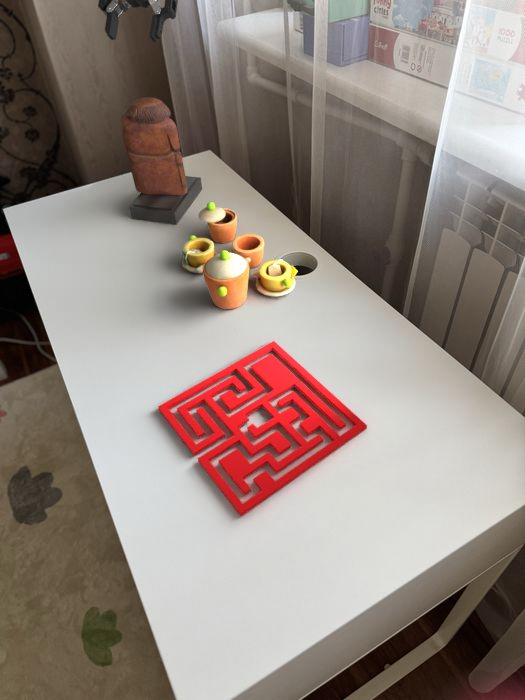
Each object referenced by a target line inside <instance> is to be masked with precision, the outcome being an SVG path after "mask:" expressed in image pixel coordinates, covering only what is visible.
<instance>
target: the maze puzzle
mask: <svg viewBox="0 0 525 700" xmlns="http://www.w3.org/2000/svg"><path fill="white" fill-rule="evenodd" d="M271 352H274V353H275V354H276V355H277V356H278V357H280V358H281V359H282V360H283V361H284V362H285V363H286V364H287V365H288V366H289V367H290V368H291V369H292V370H293V371H294V372H296V373H297V374H298V375H299V376H300V377H301V378H302V379H303V380H304V381H305V382H306V383H307V384H309V386H311V387H312V388H313V389H314V390H315V391H316V392H317V393H318V394H319V395H320V396H321V397H323V399H325V400H326V401H327V402H328V403H329V404H330V405H331V406H332V407H333V408H335V410H336V411H338V413H340V414H341V415H342V416H343V417H344V418H345V419H346V420H347V421H349V423H351V424H352V425H353V426H352V427H350V428H349V429H348V430H347V431H345V432H344V433H342V434H341V435H340V434H339V433H338V432H337V431H335V429H334V428H333V427H331V425H330V424H329V423H327V421H325V420H324V419H323V418H322V417H321V416H320V415H319V414H318V412H316V411H315V410H314V409H313V408H312V407H311V406H310V405H309V404H308V403H307V402H305V400H303V399H302V398H301V397H300V395H298V393H297V392H295V390H293V391H291V392H290V393H287V392H288V391H290V390H291V389H293V388H296V390H298V392H299V393H300V394H302V396H304V397H305V398H306V400H307V401H309V402H310V403H311V404H312V405H313V406H314V407H315V408H316V409H317V410H318V411H319V412H320V413H322V414H323V415H324V416H325V417H326V418H327V419H328V420H329V421H330V422H331V423H332V424H333V425H334V426H335V427H336V428H337V429H338V430H339V431H342V430H344V428H346V426H347V423H346V422H345V421H344V420H343V419H342V418H341V417H340V416H339V415H338V414H337V413H335V412H334V410H333V409H332V408H330V407H329V406H328V405H327V404H326V402H324V401H322V399H321V398H320V397H318V396H317V394H315V392H313V391H312V390H311V389H310V388H309V387H308V386H307V385H306V384H305V383H304V382H303V381H302V380H300V378H298V377H297V376H296V375H295V374H294V372H292V371H291V370H290V369H289V368H288V367H286V366H285V364H283V363H282V362H281V361H280V360H279V359H278V358H277V357H276V356H275V355H274V354H272V353H271ZM269 353H270V354H269ZM267 354H268V355H267ZM265 355H266V356H265ZM263 356H265V357H263ZM261 357H263V358H261ZM260 358H261V359H260ZM255 361H256V362H255ZM253 362H254V363H253ZM248 365H250V370H251V371H252V372H253V373H255V375H256V376H258V378H259V379H260V380H261V381H262V382H263V383H264V384H265V385H266V386H267V387H268V388H269V389H270V390H271V391H269V392H268V393H266V394H264V393H265V392H266V388H265V387H264V386H263V385H262V384H261V383H260V382H259V381H258V380H257V379H256V378H255V377H254V376H253V374H251V373H250V372H249V371H248V370H247V369H246V368H245V367H246V366H248ZM235 372H236V373H237V374H238V375H239V376H240V377H241V378H242V379H243V380H244V381H245V382H246V383H247V384H248V385H249V386H250V387H251V390H249V391H247V388H246V385H244V384H243V383H242V381H241V380H240V379H239V378H238V377H237V376H236V375H234V373H235ZM232 374H233V375H232ZM231 375H232V376H231ZM229 376H230V377H229ZM227 377H228V378H227ZM225 378H227V379H225ZM224 379H225V380H224ZM222 380H223V381H222ZM220 381H222V382H220ZM218 382H220V383H218ZM216 383H218V384H216ZM215 384H216V385H215ZM214 385H215V386H214ZM211 386H212V387H211ZM232 386H233V387H234V388H235V390H237V391H238V393H240V394H242V393H243V392H245V391H247V392H246V393H244V394H242V395H241V396H239V397H238V395H237V394H236V393H235V392H234V391H233V390H232V389H229V388H231V387H232ZM209 387H211V388H209ZM207 388H209V389H207ZM206 389H207V390H206ZM227 389H229V390H227ZM205 390H206V391H205ZM226 390H227V391H226ZM202 391H204V392H202ZM224 391H225V392H224ZM201 392H202V393H201ZM222 392H224V393H222ZM199 393H201V394H199ZM220 393H222V394H221V395H219V400H220V402H222V404H223V405H224V406H225V407H226V408H227V409H228V410H229V411H230V412H231V413H232V412H234V411H236V410H237V409H239V408H240V407H242V406H244V405H246V404H247V403H249V402H250V401H252V400H254V399H255V398H257V397H259V398H258V399H256V400H254V401H253V402H251V403H249V404H248V405H246V406H244V407H243V408H242V409H240V410H238V411H237V412H235V413H233V414H231V415H230V416H229V415H228V414H227V413H226V412H225V410H223V408H222V407H221V406H220V405H219V404H218V403H217V402H216V400H215V399H213V398H214V397H215V396H217V395H218V394H220ZM285 393H287V394H286V395H285V396H283V397H281V396H282V395H284V394H285ZM262 394H264V395H262ZM196 395H197V396H196ZM261 395H262V396H261ZM194 396H195V397H194ZM260 396H261V397H260ZM279 397H281V398H279ZM191 398H192V399H191ZM277 398H279V399H278V400H277V401H276V404H277V406H278V407H279V408H280V409H283V408H285V407H286V406H288V405H290V404H292V403H293V404H294V405H295V406H296V407H297V408H298V409H299V410H300V411H301V412H302V413H303V414H304V415H305V416H306V417H307V418H305V419H304V420H302V421H300V422H299V423H298V427H299V428H300V429H301V430H302V431H303V432H304V433H305V434H306V435H307V436H311V435H313V433H315V432H317V431H318V430H321V431H322V433H324V434H325V436H326V437H328V438H329V440H331V441H330V442H329V443H328V444H326V445H325V446H323V447H322V448H321V449H319V450H317V451H316V452H315V453H313V454H312V455H310V456H309V457H307V458H306V459H305V460H303V461H302V462H300V463H299V464H297V465H296V466H294V467H293V468H292V469H290V470H288V471H287V472H286V473H285V474H283V475H281V476H279V478H277V479H276V480H275V479H274V478H273V477H272V476H271V474H270V473H269V472H268V471H267V470H264V471H262V472H260V473H259V474H258V475H256V476H255V477H253V478H252V481H253V483H254V484H255V486H256V487H257V488H258V489H259V491H258V492H256V493H255V494H254V495H253V496H251V497H250V498H248V499H247V500H245V501H244V502H242V500H240V498H239V497H238V496H237V494H236V493H235V492H234V490H233V489H232V488H231V487H230V485H229V484H228V483H227V481H226V480H225V479H224V477H223V476H222V475H221V474H220V472H219V471H218V470H217V469H216V467H215V466H214V465H213V464H212V462H211V461H213V460H215V459H217V458H218V457H219V456H221V455H222V454H223V453H225V452H227V451H229V450H230V449H232V448H234V447H235V446H236V445H239V444H240V445H241V446H242V447H243V449H244V450H245V451H246V452H247V453H248V454H249V455H250V457H252V458H254V457H255V456H257V455H258V454H260V453H261V452H264V450H266V449H267V448H269V447H271V448H272V449H273V450H274V451H275V453H276V454H278V456H281V455H282V454H284V453H286V452H287V451H289V450H290V449H291V448H292V444H291V442H289V441H288V440H287V438H286V437H285V436H284V435H283V434H282V433H281V432H280V431H279V430H275V431H274V432H272V433H271V434H269V435H268V436H266V437H264V438H263V439H262V440H260V441H258V442H257V443H255V444H254V443H252V442H251V440H250V439H249V438H248V437H247V436H246V435H245V434H244V432H243V431H242V430H241V429H240V428H241V427H243V426H244V424H245V423H247V422H250V419H249V417H248V416H250V415H252V414H253V413H254V412H256V411H258V410H259V409H261V408H262V409H263V410H264V411H265V413H267V414H268V415H269V416H270V417H271V418H270V419H269V420H267V421H266V422H264V423H263V424H261V425H260V426H258V427H257V426H256V425H255V424H254V423H251V424H249V425H248V426H247V427H246V430H247V432H248V433H249V434H250V435H251V436H252V437H253V438H254V440H257V439H259V438H260V437H262V436H264V435H265V434H267V433H269V432H270V431H271V430H273V429H275V428H277V427H278V426H280V427H281V429H282V430H283V431H284V432H285V433H286V434H287V435H288V436H289V437H290V438H291V439H292V440H293V441H294V442H295V443H296V444H297V446H298V447H297V448H296V449H294V450H293V451H292V452H290V453H289V454H287V455H286V456H284V457H283V458H281V459H280V460H277V459H276V458H275V457H274V456H273V454H272V453H271V452H270V451H267V452H265V453H264V454H263V455H261V456H259V457H258V458H256V459H255V460H254V461H252V462H251V463H250V462H249V460H248V459H247V458H246V457H245V456H244V454H243V453H242V452H241V450H239V448H235V449H234V450H232V451H231V452H230V453H228V454H226V455H224V456H223V457H222V458H220V459H218V464H219V465H220V466H221V467H222V469H223V470H224V471H225V473H226V474H227V475H228V477H230V479H231V481H232V482H233V483H234V484H235V485H236V487H237V488H238V489H239V490H240V491H241V493H242V494H243V495H244V496H247V495H249V494H251V492H252V487H250V485H249V484H248V483H247V482H246V480H245V479H247V478H249V477H250V476H252V475H253V474H254V473H256V472H257V471H259V470H260V469H262V468H263V467H264V466H266V465H268V466H269V467H270V469H272V470H273V472H274V473H275V474H276V475H277V474H279V473H281V472H282V471H283V470H285V469H286V468H288V467H290V466H291V465H292V464H294V463H295V462H297V461H298V460H299V459H301V458H302V457H304V456H305V455H307V454H308V453H309V452H311V451H312V450H314V449H315V448H317V447H318V446H320V445H321V444H323V443H324V442H325V438H324V437H323V436H322V435H321V434H320V433H318V434H316V435H315V436H314V437H312V438H311V439H309V440H307V439H306V438H305V437H304V436H303V435H302V434H301V433H300V432H299V431H298V430H297V429H296V428H295V427H294V426H293V424H294V423H295V422H297V421H299V420H300V419H301V414H300V413H299V412H298V411H296V409H294V407H293V406H290V407H288V408H286V409H285V410H284V411H282V412H280V411H279V410H278V409H277V408H276V407H275V406H274V405H273V404H272V403H271V402H272V401H274V400H276V399H277ZM189 399H190V400H189ZM187 400H188V401H187ZM186 401H187V402H186ZM184 402H185V403H184ZM182 403H183V404H182ZM203 403H205V404H206V405H207V406H208V408H209V409H210V410H211V412H212V413H214V415H215V416H216V417H217V418H218V419H219V421H221V423H222V424H223V425H224V426H225V428H227V430H228V431H229V432H230V433H231V434H232V436H231V437H229V438H228V439H226V440H224V441H223V442H221V443H219V444H218V445H217V446H214V447H213V448H211V449H210V450H208V451H207V452H205V453H203V454H202V455H200V456H198V457H197V461H198V463H199V464H200V466H201V467H202V468H203V469H204V471H205V472H206V473H207V474H208V476H209V477H210V478H211V480H212V481H213V482H214V484H215V485H216V486H217V487H218V488H219V490H220V492H221V493H222V494H223V495H224V496H225V498H226V499H227V501H228V502H229V503H230V504H231V506H232V507H233V508H234V509H235V511H236V512H237V513H238V515H239V516H240V517H243V516H244V515H246V514H248V513H249V512H250V511H252V510H253V509H254V508H256V507H257V506H259V505H260V504H261V503H263V502H264V501H265V500H267V499H268V498H270V497H271V496H273V495H274V494H276V493H277V492H279V491H280V490H282V489H283V488H284V487H285V486H287V485H288V484H290V483H292V482H293V481H294V480H295V479H297V478H298V477H300V476H301V475H303V474H304V473H305V472H307V471H309V470H311V468H313V467H314V466H316V465H317V464H318V463H319V462H322V461H323V460H324V459H325V458H327V457H328V456H330V455H331V454H333V453H334V452H336V451H337V450H338V449H340V448H341V447H343V446H344V445H346V444H347V443H348V442H350V441H351V440H352V439H354V438H355V437H357V436H358V435H360V434H361V433H363V432H364V431H365V430H367V429H368V424H367V423H365V422H364V421H363V420H362V419H360V417H359V416H358V415H356V414H355V413H354V412H353V411H352V410H351V409H350V408H348V407H347V406H346V405H345V404H344V403H343V402H342V401H341V400H340V399H338V397H336V395H334V394H333V393H332V392H331V391H330V390H329V389H328V388H327V387H326V386H324V385H323V384H322V383H321V382H320V381H319V380H318V379H316V377H314V376H313V374H311V373H310V372H309V371H308V370H307V369H306V368H305V367H304V366H303V365H301V364H300V363H299V362H298V361H297V360H296V359H295V358H293V356H291V355H290V354H289V353H288V352H287V351H286V350H285V349H283V348H282V347H281V345H279V344H278V343H277V342H276V341H275V340H272V341H271V342H269V343H267V344H266V345H264V346H262V347H260V348H258V349H257V350H254V351H253V352H251V353H250V354H248V355H246V356H243V358H241V359H239V360H237V361H235V362H233V363H232V364H230V365H228V366H226V367H225V368H223V369H221V370H220V371H217V372H216V373H214V374H212V375H210V376H209V377H207V378H205V379H204V380H202V381H200V382H198V383H196V384H195V385H193V386H191V387H190V388H187V389H186V390H184V391H183V392H181V393H179V394H176V396H173V397H172V398H170V399H168V400H167V401H165V402H163V403H161V404H160V405H158V406H157V409H158V411H159V412H160V414H162V416H163V417H164V418H165V420H166V421H167V422H168V423H169V425H170V426H171V428H172V429H173V430H174V431H175V433H176V434H177V435H178V437H179V438H180V439H181V441H182V442H183V444H185V446H186V447H187V448H188V450H189V451H190V452H191V454H192V455H193V456H194V457H195V456H197V455H199V454H200V453H202V452H204V451H205V450H206V449H208V448H210V447H211V446H213V445H215V444H216V443H218V442H219V441H221V440H223V439H225V437H226V433H225V432H224V431H223V429H222V428H221V427H220V425H218V424H217V423H216V421H215V420H214V418H213V417H212V416H211V415H210V414H209V413H208V412H207V411H206V410H205V408H204V407H203V406H200V405H202V404H203ZM180 404H181V405H180ZM178 405H179V406H178ZM176 406H178V407H176ZM198 406H200V407H198ZM175 407H176V410H177V411H176V412H177V413H178V414H179V415H180V416H181V418H182V419H183V420H184V421H185V423H186V424H187V425H188V427H190V429H191V430H192V432H193V433H194V434H195V435H196V436H197V438H198V439H201V438H203V437H204V436H206V432H205V430H204V429H203V428H202V426H201V425H200V424H199V423H198V422H197V420H196V418H194V417H193V416H192V414H191V413H190V411H192V410H193V409H195V408H196V409H195V412H196V415H198V417H199V418H200V419H201V420H202V421H203V423H204V424H205V425H206V426H207V428H208V429H209V430H210V431H211V432H212V434H209V436H207V437H205V438H204V439H202V440H201V441H199V442H198V443H196V442H195V441H194V440H193V438H192V437H191V435H190V434H189V432H187V430H186V429H185V428H184V427H183V426H182V424H181V423H180V422H179V420H178V419H177V417H176V416H175V415H174V414H173V412H172V411H171V409H174V408H175ZM197 407H198V408H197Z"/></svg>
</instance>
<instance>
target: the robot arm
mask: <svg viewBox="0 0 525 700" xmlns="http://www.w3.org/2000/svg"><path fill="white" fill-rule="evenodd" d="M178 3H179V0H164V5H163V7H162V6H161V4H160V1H159V0H125V2H123V0H98V3H97V7H98V9H100V11H101V12H102V13H103V14H104V15H105V17H106V21H105V27H104V33H106V36H107V37H108V38H109V39H110V40H111V41H116V40H117V36H118V29H119V25H120V20H119V19H120V18H121V17H122V15H124V13H128V12H129V11H130V9H131V8H133V9H134V8H135V9H137V8H144V9H149V7H150V6H151V8H152V10H153V12H154V14H152V17H151V23H150V30H149V38H150V39H151V41H152V42H153V43H159V40H161V39H162V37H163V31H164V25H165V22H167V20H169V19H171V20H175V19H176V17H177V12H178Z"/></svg>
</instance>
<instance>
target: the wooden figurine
mask: <svg viewBox="0 0 525 700" xmlns="http://www.w3.org/2000/svg"><path fill="white" fill-rule="evenodd" d="M171 116H172V113H171V110H170V108H169V107H168V106H167V105H166V104H165V102H163V101H162V100H160V99H158V98H156V97H152V96H151V97H150V96H149V97H148V96H146V97H141V98H137V99H136V100H134V101H133V102H131V103H130V104H129V107H128V108H127V109H126V112H125V113H123V114H122V115H121V116H120V130H121V136H122V141H123V144H124V148H125V153H126V155H127V160H128V164H129V168H130V173H131V176H132V180H133V185H134V187H135V190H136V191H137V192H138V193H139V194H140V193H144V194H153V195H157V194H158V195H184V194H186V193H187V185H186V178H185V176H186V173H185V172H186V171H185V166H184V160H183V155H182V152H181V144H180V138H179V133H178V127H177V125H176V123H175V122H174V120H173V119H171V118H170V117H171Z"/></svg>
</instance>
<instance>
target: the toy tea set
mask: <svg viewBox="0 0 525 700" xmlns="http://www.w3.org/2000/svg"><path fill="white" fill-rule="evenodd" d="M197 216H198V219H199V220H200V221H201V222H204V223H206V224H207V227H208V230H209V234H210V237H211V239H212V240H211V239H209V238H207V237H197V236H196V235H190V236H189V237H188V241H187V242H185V244H184V246H183V250H182V251H181V252H182V255H183V256H182V257H183V258H182V262H181V263H182V267H183V268H184V269H185V270H187V271H188V272H190V273H195V274H202V276H203V278H204V281H205V284H206V286H207V289H208V292H209V295H210V298H211V300H212V302H213V304H214V305H215V306H216V307H217V308H220V309H222V310H223V309H224V310H233V309H237V308H240V307H241V306H242V305H243V304H244V303H245V302H246V301H247V297H248V288H249V287H248V286H249V278H250V277H249V276H250V269H253V268H257V267H258V266H259V269H256V270H254V271H253V272H252V274H251V275H252V277H253V278H255V279H256V280H255V287H256V290H257V291H258V292H259V293H261V294H262V295H264V296H268V297H274V298H275V297H276V298H277V297H283V296H286V295H287V294H289V293H291V292H292V291H293V290H294V288H295V286H296V280H295V276H296V275H297V273H298V272H299V271H298V270H297V269H296V267H294V265H292V264H291V265H290V264H289V263H288V262H286V261H284V260H283V259H271V260H268V261H265V262H263V257H264V249H265V240H264V238H263V237H262V236H260V235H258V234H254V233H244V234H240V235H238V236H236V234H237V222H238V220H237V219H238V214H237V212H236V211H235V210H233V209H231V208H227V207H226V208H225V207H219V206H218V205H215V203H214V202H213V201H209V202H207V203H206V206H205V207H204V208H202V209H201V210H200V211H199V212H198V215H197ZM231 241H232V242H231ZM214 242H216V243H219V244H227V243H230V242H231V246H232V250H233V252H230V251H228V250H225V249H223V250H221V251H220V252H219V253H217V252H216V251H215V243H214ZM262 262H263V263H262Z"/></svg>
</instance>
